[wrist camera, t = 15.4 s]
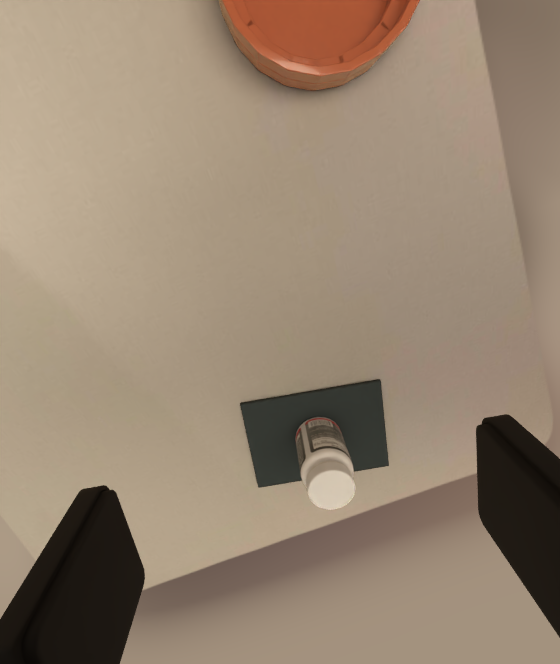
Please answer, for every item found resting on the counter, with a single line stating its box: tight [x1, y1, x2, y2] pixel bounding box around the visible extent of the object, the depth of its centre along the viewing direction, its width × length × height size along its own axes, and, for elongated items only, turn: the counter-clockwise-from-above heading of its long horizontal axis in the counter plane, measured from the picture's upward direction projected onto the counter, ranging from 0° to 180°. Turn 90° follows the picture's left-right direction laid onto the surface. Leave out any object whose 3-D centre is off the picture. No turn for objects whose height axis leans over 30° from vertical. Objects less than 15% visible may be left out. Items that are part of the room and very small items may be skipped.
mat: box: [240, 380, 389, 488], centre depth 42 cm, size 14×10×1 cm
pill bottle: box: [295, 417, 355, 510], centre depth 38 cm, size 5×5×8 cm
